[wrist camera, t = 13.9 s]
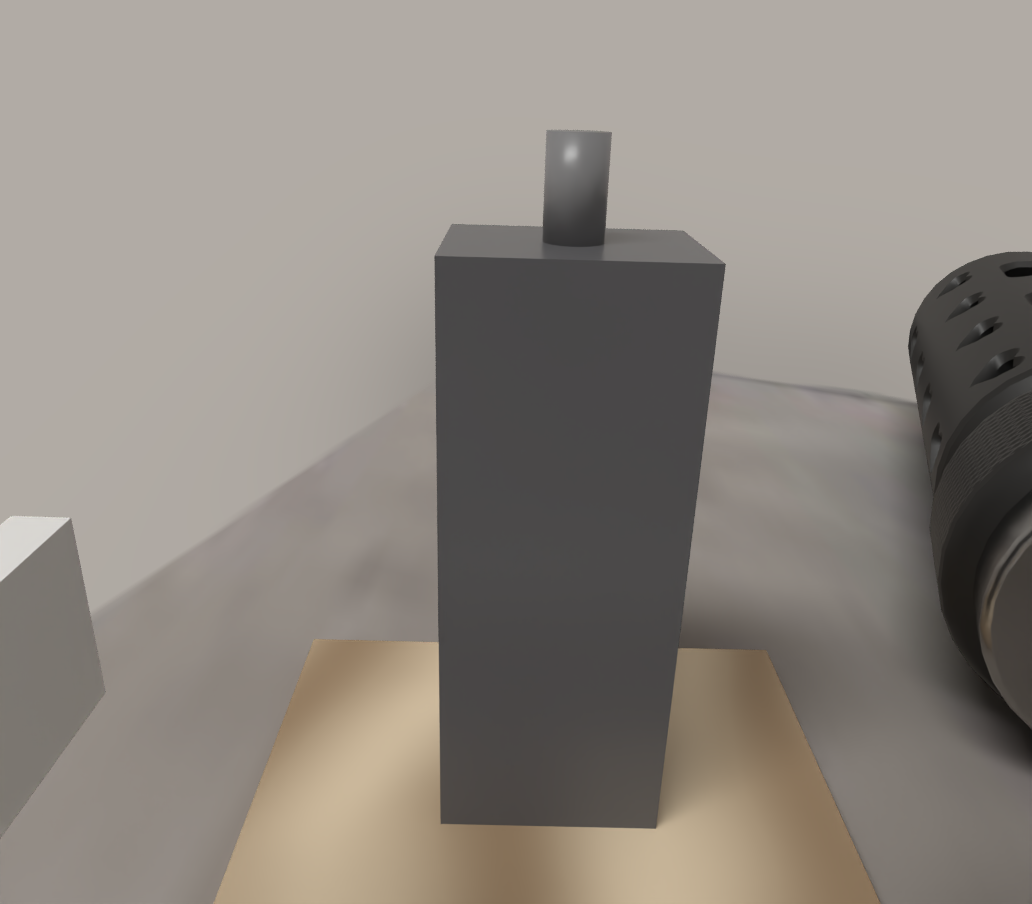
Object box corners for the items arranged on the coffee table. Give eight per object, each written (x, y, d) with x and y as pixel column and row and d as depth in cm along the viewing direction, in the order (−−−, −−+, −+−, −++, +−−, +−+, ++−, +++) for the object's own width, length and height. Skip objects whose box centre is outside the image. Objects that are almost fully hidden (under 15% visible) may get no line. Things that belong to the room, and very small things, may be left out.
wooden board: (763, 663, 26) (766, 650, 26) (897, 970, 17) (902, 953, 17) (315, 652, 26) (313, 639, 26) (203, 956, 17) (200, 938, 17)
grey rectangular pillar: (633, 712, 23) (693, 131, 17) (655, 828, 19) (741, 140, 14) (452, 708, 23) (451, 124, 17) (440, 823, 19) (433, 131, 14)
